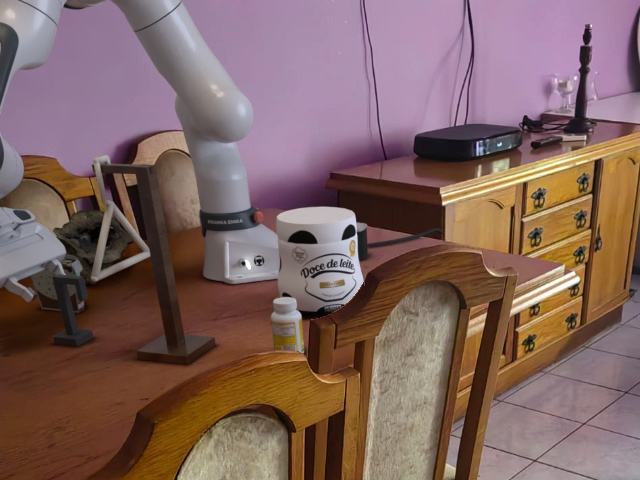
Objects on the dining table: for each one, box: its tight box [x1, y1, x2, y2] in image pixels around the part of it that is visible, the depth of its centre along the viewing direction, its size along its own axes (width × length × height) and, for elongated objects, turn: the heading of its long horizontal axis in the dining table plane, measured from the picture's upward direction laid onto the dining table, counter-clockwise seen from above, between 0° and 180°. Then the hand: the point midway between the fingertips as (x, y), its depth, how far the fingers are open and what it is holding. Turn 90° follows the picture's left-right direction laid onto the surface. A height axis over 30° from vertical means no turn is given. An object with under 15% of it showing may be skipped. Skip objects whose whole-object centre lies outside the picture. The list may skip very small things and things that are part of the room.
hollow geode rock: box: [52, 209, 134, 286], centre depth 193 cm, size 28×13×15 cm
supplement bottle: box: [270, 297, 305, 354], centre depth 147 cm, size 5×5×10 cm
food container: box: [30, 254, 85, 314], centre depth 172 cm, size 12×6×10 cm, turn 71°
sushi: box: [356, 221, 369, 262], centre depth 201 cm, size 8×8×8 cm
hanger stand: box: [91, 154, 217, 366], centre depth 143 cm, size 14×17×32 cm
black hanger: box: [52, 274, 94, 348], centre depth 154 cm, size 7×5×12 cm
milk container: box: [275, 206, 365, 316], centre depth 166 cm, size 17×17×18 cm
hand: (50, 291), depth 153 cm, fingers open, 8 cm apart
